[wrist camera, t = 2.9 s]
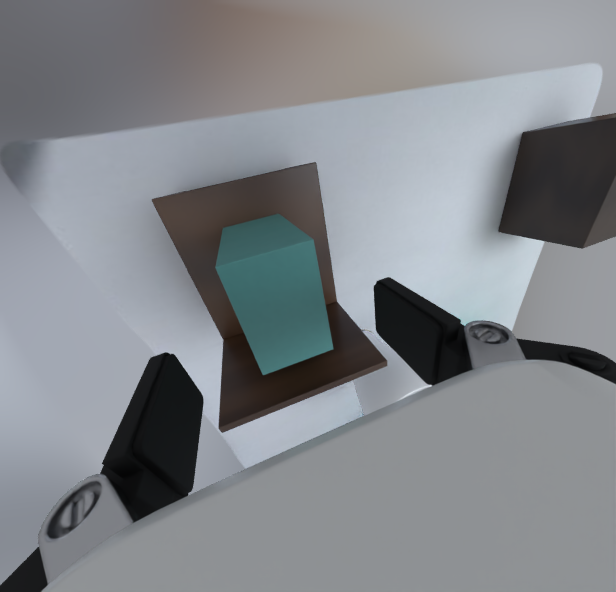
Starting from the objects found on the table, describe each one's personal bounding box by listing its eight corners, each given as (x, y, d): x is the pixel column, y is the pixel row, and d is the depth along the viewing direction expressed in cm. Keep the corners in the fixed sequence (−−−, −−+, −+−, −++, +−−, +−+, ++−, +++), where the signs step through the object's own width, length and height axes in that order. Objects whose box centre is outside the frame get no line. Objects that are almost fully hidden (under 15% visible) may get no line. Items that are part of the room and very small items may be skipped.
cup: (387, 354, 41) (447, 422, 29) (335, 377, 39) (377, 457, 28) (384, 309, 36) (456, 370, 24) (323, 333, 34) (370, 410, 23)
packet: (222, 227, 17) (214, 267, 9) (278, 213, 18) (313, 238, 10) (251, 303, 21) (263, 375, 13) (297, 288, 21) (333, 349, 14)
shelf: (173, 193, 21) (66, 220, 7) (294, 166, 23) (385, 147, 9) (226, 309, 28) (221, 433, 14) (316, 280, 30) (388, 366, 16)
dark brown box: (522, 132, 29) (644, 112, 20) (569, 121, 30) (702, 98, 21) (498, 232, 35) (582, 248, 27) (537, 219, 36) (629, 231, 28)
